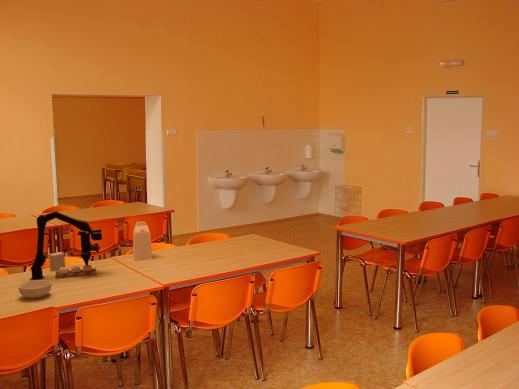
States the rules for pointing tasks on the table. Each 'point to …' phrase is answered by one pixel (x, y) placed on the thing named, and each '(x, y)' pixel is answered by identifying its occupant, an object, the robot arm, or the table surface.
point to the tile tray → (75, 274)
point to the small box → (56, 261)
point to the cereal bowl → (35, 288)
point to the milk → (141, 242)
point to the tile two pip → (75, 269)
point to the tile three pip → (87, 268)
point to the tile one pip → (63, 270)
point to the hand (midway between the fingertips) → (87, 265)
